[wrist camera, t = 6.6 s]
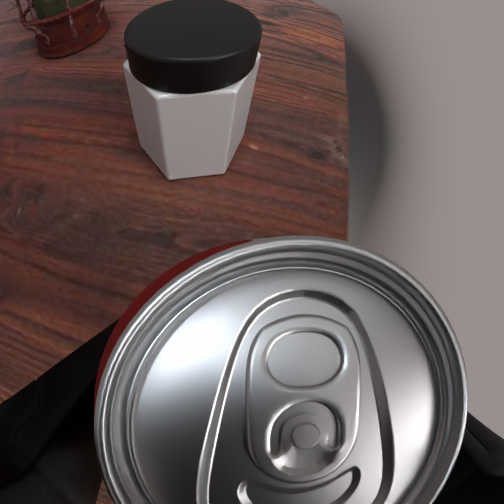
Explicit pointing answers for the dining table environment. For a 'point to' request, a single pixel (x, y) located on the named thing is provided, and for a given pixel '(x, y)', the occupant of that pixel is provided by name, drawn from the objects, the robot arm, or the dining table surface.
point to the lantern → (65, 25)
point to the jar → (191, 82)
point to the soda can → (281, 381)
